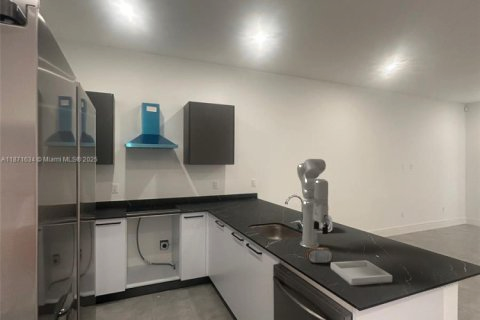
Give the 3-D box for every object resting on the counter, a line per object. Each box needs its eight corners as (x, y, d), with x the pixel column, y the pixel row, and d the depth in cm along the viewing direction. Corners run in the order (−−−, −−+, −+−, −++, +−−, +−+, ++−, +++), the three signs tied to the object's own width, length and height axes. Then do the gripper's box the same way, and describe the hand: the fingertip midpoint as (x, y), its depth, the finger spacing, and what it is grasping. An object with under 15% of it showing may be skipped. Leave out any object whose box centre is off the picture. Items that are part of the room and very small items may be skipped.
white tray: (330, 268, 131) (330, 262, 131) (366, 265, 135) (366, 260, 135) (351, 285, 113) (351, 278, 113) (392, 282, 117) (392, 275, 117)
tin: (331, 261, 140) (331, 247, 140) (333, 263, 137) (334, 249, 137) (306, 261, 140) (306, 246, 140) (307, 263, 137) (308, 248, 137)
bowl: (329, 227, 213) (329, 213, 213) (332, 233, 195) (332, 219, 195) (305, 225, 218) (305, 212, 218) (306, 231, 199) (307, 217, 199)
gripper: (308, 199, 146) (307, 227, 146) (322, 204, 129) (322, 236, 129) (319, 199, 148) (319, 227, 147) (335, 204, 131) (335, 235, 130)
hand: (320, 231), depth 138 cm, fingers open, 9 cm apart
